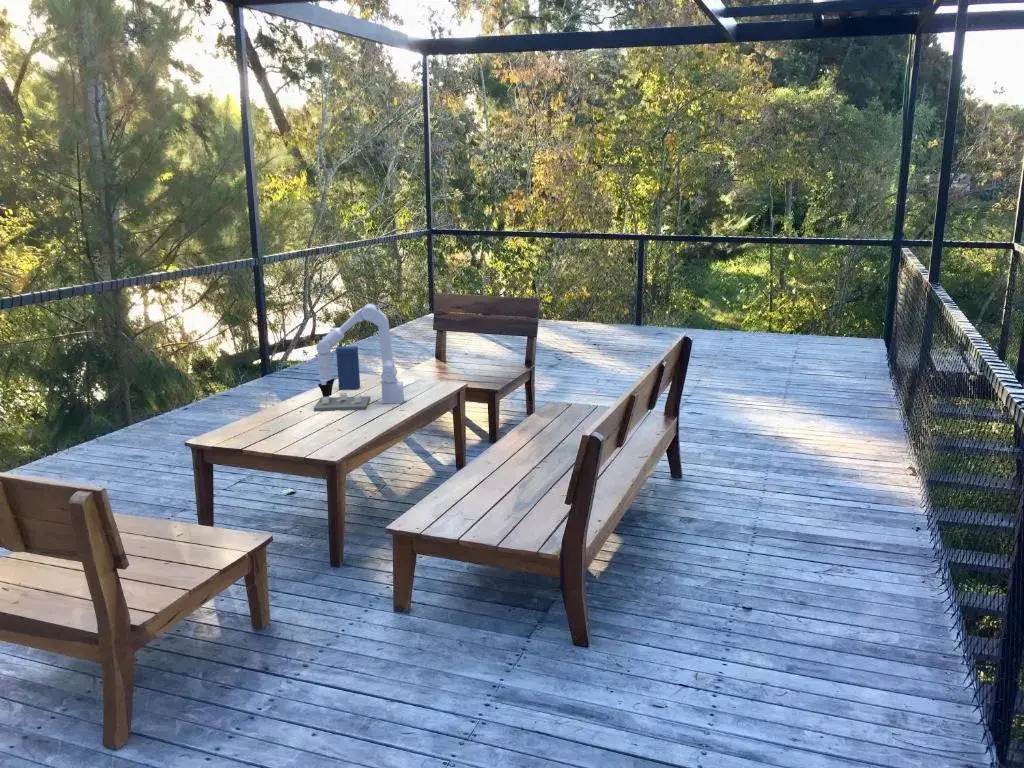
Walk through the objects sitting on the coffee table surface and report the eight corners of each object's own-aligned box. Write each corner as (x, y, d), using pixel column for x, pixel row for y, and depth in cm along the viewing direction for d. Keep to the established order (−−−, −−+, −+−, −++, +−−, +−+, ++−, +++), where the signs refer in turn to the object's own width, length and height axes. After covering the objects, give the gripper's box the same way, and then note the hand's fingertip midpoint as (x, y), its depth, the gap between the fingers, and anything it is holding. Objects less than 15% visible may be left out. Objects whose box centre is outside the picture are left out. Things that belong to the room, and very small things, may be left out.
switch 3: (361, 400, 387) (361, 394, 387) (360, 402, 384) (360, 396, 384) (355, 401, 387) (355, 394, 387) (354, 402, 384) (354, 396, 384)
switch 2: (347, 398, 392) (346, 392, 391) (346, 400, 389) (345, 394, 388) (341, 398, 392) (340, 392, 391) (340, 400, 389) (339, 394, 388)
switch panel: (370, 399, 397) (370, 396, 397) (365, 409, 380) (365, 406, 379) (321, 401, 396) (320, 397, 396) (314, 411, 379) (313, 407, 379)
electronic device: (360, 387, 421) (358, 345, 417) (358, 389, 416) (355, 347, 412) (341, 387, 422) (338, 345, 418) (338, 389, 417) (335, 348, 413)
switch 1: (329, 401, 387) (328, 395, 386) (328, 403, 384) (327, 397, 383) (323, 402, 387) (323, 396, 386) (322, 403, 384) (321, 397, 383)
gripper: (319, 364, 394) (321, 393, 397) (313, 370, 380) (315, 401, 383) (335, 363, 394) (337, 393, 397) (329, 370, 380) (331, 401, 383)
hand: (327, 397), depth 390 cm, fingers open, 6 cm apart
